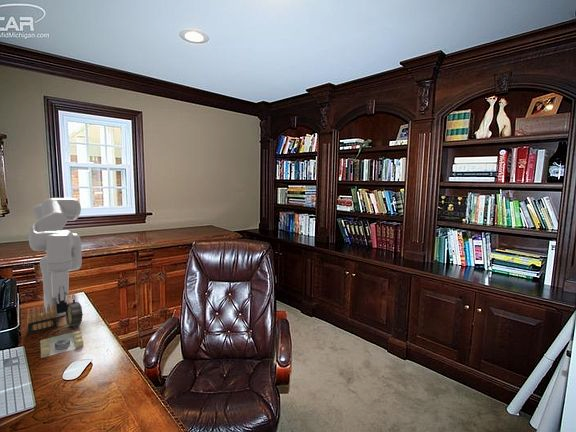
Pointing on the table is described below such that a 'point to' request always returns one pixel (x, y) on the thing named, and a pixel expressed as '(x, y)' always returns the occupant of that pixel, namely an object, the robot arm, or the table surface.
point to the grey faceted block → (62, 344)
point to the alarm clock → (74, 314)
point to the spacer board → (49, 343)
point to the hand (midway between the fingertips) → (62, 311)
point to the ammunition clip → (41, 319)
